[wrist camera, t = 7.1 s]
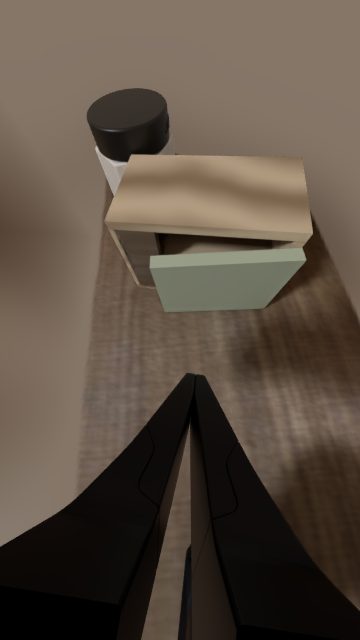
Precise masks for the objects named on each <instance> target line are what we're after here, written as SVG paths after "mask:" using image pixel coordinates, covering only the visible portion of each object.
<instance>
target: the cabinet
mask: <svg viewBox="0 0 360 640" xmlns="http://www.w3.org/2000/svg"><path fill="white" fill-rule="evenodd" d="M105 223H106V225H107V227H108V229H109V231H110V233H111V235H112V237H113V239H114V241H115V243H116V244H117V246H118V248H119V250H120V252H121V254H122V256H123V258H124V260H125V262H126V264H127V266H128V268H129V270H130V271H131V273H132V275H133V277H134V279H135V281H136V283H137V285H138V287H142V288H152V289H157V288H156V285H155V282H154V279H153V277H152V274H151V271H150V256H158V255H177V254H196V253H215V252H234V251H253V250H272V249H291V248H302V247H303V246H304V245H305V243H306V242H307V241H308V239H309V238H310V237H311V236H312V234H313V230H312V223H311V216H310V209H309V203H308V196H307V189H306V181H305V175H304V168H303V161H302V157H249V156H248V157H246V156H188V155H131V156H130V158H129V161H128V163H127V166H126V168H125V171H124V173H123V176H122V178H121V181H120V183H119V186H118V188H117V191H116V193H115V196H114V198H113V201H112V203H111V206H110V208H109V211H108V213H107V216H106V218H105Z"/></svg>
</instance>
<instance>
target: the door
mask: <svg viewBox="0 0 360 640" xmlns="http://www.w3.org/2000/svg"><path fill="white" fill-rule="evenodd" d="M305 262H306V257H305V254H304V251H303V248H291V249H272V250H253V251H234V252H215V253H196V254H177V255H158V256H150V271H151V274H152V277H153V279H154V282H155V285H156V288H157V291H158V294H159V297H160V300H161V303H162V305H163V308H164V311H165V312H185V311H212V310H239V309H264V308H265V307H266V306H267V304H268V303H269V302H270V301H271V300H272V299H273V298H274V297H275V295H276V294H277V293H278V292H279V291H280V290H281V289H282V288H283V286H284V285H285V284H286V283H287V282H288V281H289V280H290V278H291V277H292V276H293V275H294V274H295V273H296V272H297V271H298V269H299V268H300V267H301V266H302V265H303V264H304V263H305Z"/></svg>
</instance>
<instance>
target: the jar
mask: <svg viewBox="0 0 360 640" xmlns="http://www.w3.org/2000/svg"><path fill="white" fill-rule="evenodd" d="M87 121H88V123H89V126H90V129H91V131H92V134H93V136H94V139H95V141H96V144H97V146H96V148H95V149H96V152H97V155H98V157H99V160H100V162H101V165H102V167H103V169H104V172H105V175H106V177H107V180H108V182H109V185H110V187H111V190H112V192H113V195H114V196H115V193H116V191H117V188H118V186H119V183H120V181H121V178H122V176H123V173H124V171H125V168H126V166H127V163H128V161H129V158H130V156H131V155H175V151H174V138H173V135H172V134H171V133H169V116H168V113H167V103H166V100H165V99H164V97H163V96H162V95H161V94H159V93H157V92H155V91H152V90H148V89H140V88H134V89H124V90H119V91H116V92H112V93H110V94H107V95H105V96H103V97H101V98H99V99H98V100H97V101H95V102H94V103H93V104H92V105H91V106H90V108H89V109H88V112H87Z"/></svg>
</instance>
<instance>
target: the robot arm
mask: <svg viewBox="0 0 360 640" xmlns="http://www.w3.org/2000/svg"><path fill="white" fill-rule="evenodd" d="M190 418H191V419H190ZM189 425H190V477H191V546H190V547H189V548H188V549H187V552H186V560H185V570H184V580H183V590H182V600H181V611H180V621H179V631H178V640H360V611H359V610H358V609H357V608H356V607H355V606H354V605H353V604H352V603H351V601H350V600H349V599H348V598H347V597H346V596H345V595H344V594H343V593H342V592H341V591H340V590H339V589H338V588H337V587H336V586H335V585H334V584H333V583H332V582H331V581H330V580H329V579H328V578H327V577H326V576H325V574H324V573H323V572H322V571H321V570H320V569H319V567H318V566H317V565H316V563H315V562H314V561H313V560H312V558H311V557H310V556H309V554H308V553H307V552H306V550H305V549H304V547H303V546H302V544H301V543H300V541H299V540H298V538H297V537H296V535H295V534H294V532H293V530H292V529H291V527H290V526H289V524H288V523H287V521H286V519H285V518H284V516H283V515H282V513H281V512H280V510H279V509H278V507H277V505H276V504H275V502H274V501H273V499H272V498H271V496H270V494H269V493H268V491H267V490H266V488H265V487H264V485H263V483H262V482H261V480H260V478H259V477H258V475H257V474H256V472H255V470H254V469H253V467H252V465H251V463H250V461H249V460H248V458H247V456H246V454H245V452H244V450H243V448H242V447H241V445H240V443H239V442H238V439H237V437H236V435H235V433H234V431H233V429H232V427H231V426H230V424H229V422H228V420H227V418H226V416H225V414H224V412H223V410H222V408H221V406H220V404H219V402H218V400H217V399H216V397H215V395H214V393H213V391H212V389H211V387H210V385H209V383H208V381H207V379H206V377H205V376H204V375H199V374H196V376H195V374H192V373H186V375H185V376H184V377H183V378H182V380H181V381H180V382H179V383H178V385H177V386H176V387H175V388H174V390H173V391H172V392H171V393H170V395H169V396H168V397H167V399H166V400H165V401H164V402H163V404H162V405H161V406H160V407H159V409H158V410H157V411H156V412H155V414H154V415H153V416H152V417H151V419H150V420H149V421H148V422H147V424H146V425H145V426H144V427H143V429H142V430H141V431H140V432H139V434H138V435H137V436H136V437H135V438H134V440H133V441H132V442H131V443H130V444H129V445H128V446H127V447H126V449H125V450H124V451H123V452H122V453H121V454H120V455H119V456H118V457H117V458H116V459H115V460H114V461H113V462H112V463H111V464H110V465H109V466H108V467H107V468H106V469H105V470H104V471H103V472H102V473H101V474H100V475H99V476H98V477H97V478H96V479H95V480H94V481H93V482H92V483H91V484H90V485H89V486H88V487H87V488H86V489H85V490H84V491H83V492H82V493H81V494H80V495H79V496H78V497H77V498H76V499H75V500H74V501H72V502H71V503H70V504H69V505H68V506H66V507H65V508H64V509H62V510H61V511H59V512H58V513H56V514H55V515H53V516H52V517H50V518H48V519H46V520H45V521H43V522H41V523H40V524H38V525H36V526H35V527H33V528H31V529H29V530H28V531H26V532H24V533H23V534H21V535H19V536H18V537H16V538H14V539H13V540H11V541H9V542H7V543H6V544H4V545H2V546H1V547H0V640H141V637H142V632H143V628H144V624H145V619H146V615H147V610H148V606H149V602H150V597H151V593H152V588H153V584H154V580H155V575H156V569H157V566H158V562H159V558H160V553H161V549H162V544H163V540H164V536H165V531H166V527H167V522H168V518H169V514H170V509H171V505H172V500H173V496H174V491H175V487H176V483H177V478H178V474H179V469H180V465H181V461H182V456H183V452H184V447H185V443H186V439H187V434H188V430H189ZM190 555H191V558H190Z"/></svg>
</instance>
